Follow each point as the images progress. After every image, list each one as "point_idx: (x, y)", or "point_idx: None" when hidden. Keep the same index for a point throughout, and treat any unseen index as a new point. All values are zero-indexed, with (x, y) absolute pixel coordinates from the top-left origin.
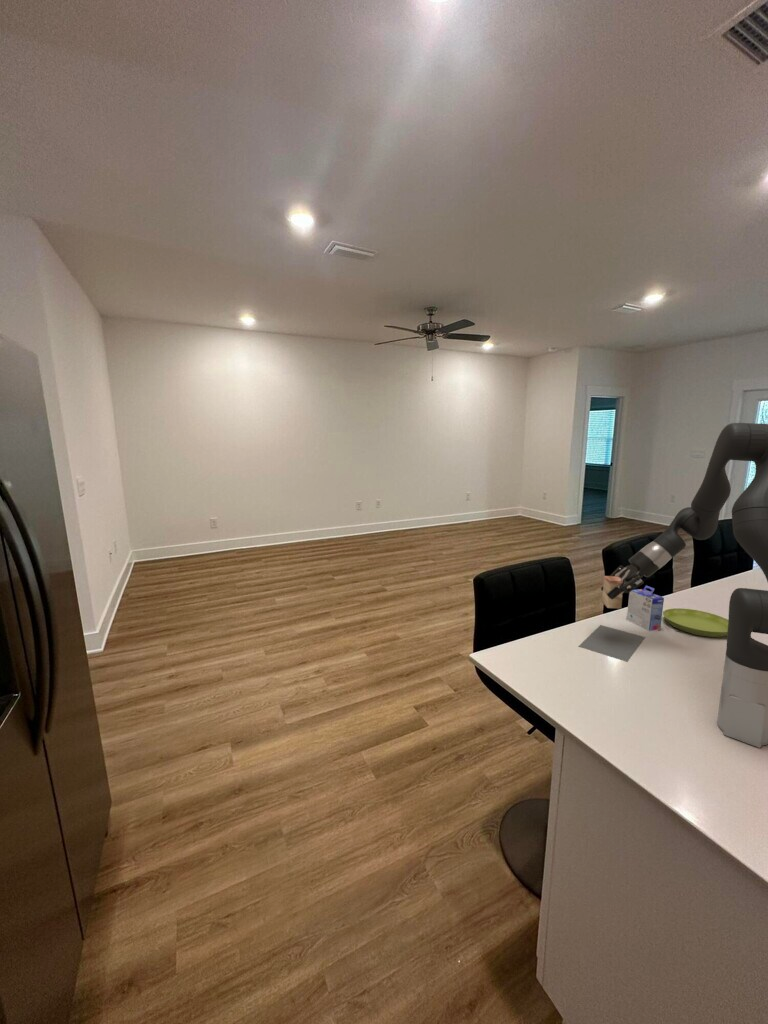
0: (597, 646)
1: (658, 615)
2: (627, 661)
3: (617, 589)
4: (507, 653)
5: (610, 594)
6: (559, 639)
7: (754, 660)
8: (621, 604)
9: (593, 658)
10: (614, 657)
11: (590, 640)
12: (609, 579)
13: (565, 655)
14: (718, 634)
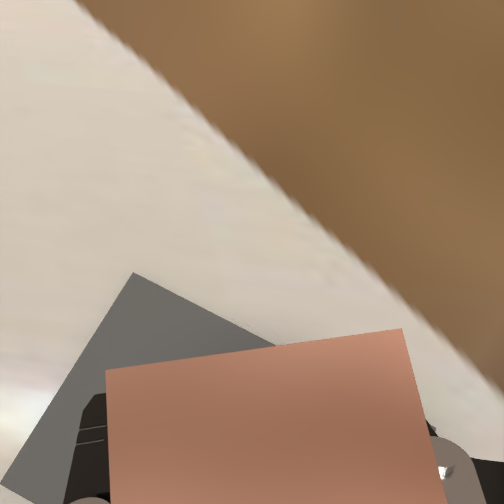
0: (152, 362)
1: None
2: (4, 485)
3: (73, 499)
4: (34, 22)
5: (102, 399)
6: (208, 210)
7: None
8: None
9: (40, 326)
10: (41, 424)
11: (215, 339)
12: (191, 382)
13: (51, 213)
14: None
